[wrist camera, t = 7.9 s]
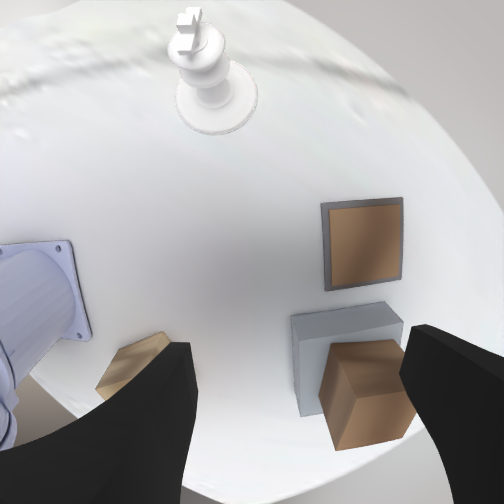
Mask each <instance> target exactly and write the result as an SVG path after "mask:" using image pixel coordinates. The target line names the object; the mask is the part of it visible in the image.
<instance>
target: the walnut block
mask: <svg viewBox="0 0 504 504" xmlns="http://www.w3.org/2000/svg"><path fill="white" fill-rule="evenodd" d="M404 354H405V352H404V351H403V350H402V349H401V347H400V346H399V345H398V344H397V342H396V341H395V340H394V339H389V340H377V341H363V342H346V343H331V345H330V349H329V354H328V358H327V363H326V367H325V371H324V375H323V379H322V383H321V387H320V391H319V395H318V397H319V400H320V403H321V406H322V409H323V413H324V416H325V419H326V422H327V425H328V428H329V432H330V435H331V438H332V441H333V444H334V448H335V451H339V450H346V449H352V448H358V447H363V446H369V445H374V444H378V443H383V442H387V441H392V440H396V439H400V438H402V437H403V436H404V434H405V432H406V431H407V429H408V427H409V425H410V424H411V422H412V420H413V418H414V416H415V414H416V413H417V412H416V410H415V408H414V406H413V405H412V403H411V401H410V399H409V398H408V396H407V393H406V391H405V389H404V386H403V384H402V381H401V378H400V376H399V371H400V368H401V364H402V361H403V358H404Z"/></svg>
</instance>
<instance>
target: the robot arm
mask: <svg viewBox="0 0 504 504" xmlns="http://www.w3.org/2000/svg"><path fill="white" fill-rule="evenodd" d="M59 246H60V247H61V251H60V250H59ZM79 333H80V334H81V335H82V336H81V335H80V334H79ZM91 337H92V335H91V331H90V328H89V324H88V321H87V317H86V313H85V310H84V306H83V302H82V298H81V293H80V289H79V285H78V280H77V275H76V270H75V265H74V260H73V254H72V248H71V244H70V243H69V242H68V241H65V240H64V241H49V242H35V243H21V244H8V245H0V504H180V494H181V484H182V478H183V473H184V468H185V464H186V459H187V455H188V450H189V446H190V442H191V437H192V433H193V428H194V424H195V419H196V410H197V399H198V388H197V382H196V376H195V371H194V365H193V359H192V352H191V346H190V343H189V342H170V343H169V344H168V345H167V346H166V347H165V348H164V349H163V350H162V351H161V352H160V353H159V354H158V355H157V356H156V357H155V358H154V359H153V360H152V361H151V362H150V363H149V364H148V365H147V366H146V367H145V368H143V369H142V370H141V371H140V372H139V373H138V374H137V375H136V376H135V377H134V378H133V379H132V380H131V381H129V382H128V383H127V384H126V385H125V386H123V387H122V388H121V389H120V390H119V391H117V392H116V393H115V394H114V395H112V396H111V397H110V398H109V399H107V400H106V401H105V402H103V403H102V404H101V405H99V406H98V407H96V408H95V409H93V410H92V411H90V412H89V413H87V414H86V415H84V416H83V417H81V418H79V419H78V420H76V421H74V422H72V423H70V424H68V425H67V426H64V427H62V428H61V429H59V430H57V431H55V432H53V433H51V434H49V435H46V436H44V437H42V438H39V439H37V440H34V441H31V442H29V443H26V444H23V445H20V446H17V447H14V448H12V447H13V444H14V441H15V438H16V433H17V423H16V419H15V417H14V415H13V413H12V410H13V409H14V408H15V406H16V405H17V404H18V402H19V399H18V398H17V396H16V393H15V391H14V390H15V389H16V388H17V386H18V385H19V384H20V383H21V382H22V380H23V379H24V378H25V377H26V376H27V375H28V373H29V372H30V371H31V370H32V369H33V368H34V366H35V365H36V364H37V363H38V362H39V361H40V360H41V358H42V357H43V356H44V355H45V354H46V353H47V352H48V351H49V349H50V348H51V347H52V346H53V345H54V344H55V343H56V342H57V341H58V340H59V338H62V339H70V340H78V341H89V340H90V339H91ZM399 376H400V378H401V381H402V384H403V386H404V389H405V391H406V393H407V396H408V398H409V399H410V401H411V403H412V405H413V406H414V408H415V410H416V412H417V413H418V415H419V417H420V418H421V420H422V422H423V424H424V425H425V427H426V429H427V431H428V432H429V434H430V436H431V438H432V439H433V441H434V443H435V445H436V447H437V449H438V452H439V454H440V457H441V460H442V462H443V465H444V468H445V471H446V474H447V477H448V481H449V484H450V488H451V492H452V497H453V501H454V504H504V357H502V356H499V355H497V354H494V353H492V352H489V351H487V350H485V349H482V348H480V347H478V346H476V345H473V344H471V343H469V342H467V341H465V340H463V339H460V338H458V337H456V336H454V335H452V334H450V333H447V332H445V331H443V330H440V329H438V328H435V327H433V326H430V325H427V324H424V325H418V326H412V327H411V331H410V335H409V339H408V343H407V347H406V350H405V354H404V358H403V361H402V364H401V368H400V371H399Z"/></svg>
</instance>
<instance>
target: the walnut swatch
mask: <svg viewBox="0 0 504 504" xmlns="http://www.w3.org/2000/svg"><path fill="white" fill-rule="evenodd" d="M321 211H322V228H323V247H324V274H325V291H333V290H339V289H346V288H353V287H359V286H365V285H371V284H377V283H383V282H389V281H395V280H401V277H402V260H403V221H404V219H403V198H402V197H400V198H383V199H369V200H355V201H342V202H330V203H321Z"/></svg>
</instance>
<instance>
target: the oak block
mask: <svg viewBox="0 0 504 504" xmlns="http://www.w3.org/2000/svg"><path fill="white" fill-rule="evenodd" d="M170 342H171V341H170V340H169V339H168V337H167V336H166V334H165V333H164V332H163V331H162V332H160V333H158V334H155V335H153V336H150V337H148V338H146V339H143V340H141V341H138V342H136V343H133V344H131V345H129V346H126V347H124V348H121V349H119V350H118V352H117V353H116V355H115V356H114V358H113V360H112V361H111V363H110V365H109V366H108V368H107V370H106V371H105V373H104V375H103V377H102V378H101V380H100V382H99V383H98V385H97V387H96V389H95V390H96V391H97V392H98V393H99V394H100V395H101V397H102V398H103V399H104V400H105V401H106V400H107V399H109V398H110V397H111V396H112V395H114V394H115V393H116V392H117V391H119V390H120V389H121V388H122V387H123V386H125V385H126V384H127V383H128V382H129V381H131V380H132V379H133V378H134V377H135V376H136V375H137V374H138V373H139V372H140V371H141V370H142V369H143V368H145V367H146V366H147V365H148V364H149V363H150V362H151V361H152V360H153V359H154V358H155V357H156V356H157V355H158V354H159V353H160V352H161V351H162V350H163V349H164V348H165V347H166V346H167V345H168V344H169V343H170ZM195 376H196V375H195Z"/></svg>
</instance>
